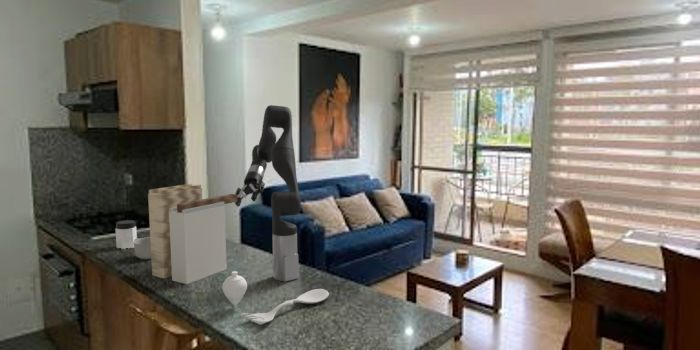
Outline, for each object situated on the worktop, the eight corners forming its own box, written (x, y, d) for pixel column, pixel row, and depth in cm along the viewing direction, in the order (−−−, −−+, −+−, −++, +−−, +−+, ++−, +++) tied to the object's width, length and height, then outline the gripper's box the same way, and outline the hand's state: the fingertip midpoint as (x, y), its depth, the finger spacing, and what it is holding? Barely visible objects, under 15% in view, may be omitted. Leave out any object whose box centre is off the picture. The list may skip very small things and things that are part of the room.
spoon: (239, 324, 137) (239, 312, 137) (315, 293, 162) (314, 283, 161) (259, 332, 131) (259, 321, 131) (334, 299, 156) (334, 289, 156)
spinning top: (221, 305, 150) (220, 269, 149) (245, 302, 153) (244, 266, 152) (224, 314, 143) (223, 277, 142) (249, 310, 146) (248, 273, 145)
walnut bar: (232, 200, 195) (231, 193, 194) (237, 201, 193) (237, 194, 193) (177, 212, 171) (176, 204, 170) (182, 213, 169) (182, 204, 169)
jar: (117, 250, 214) (116, 224, 213) (115, 246, 221) (114, 221, 219) (138, 247, 219) (137, 222, 218) (135, 243, 226) (134, 219, 224)
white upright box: (212, 266, 191) (210, 200, 188) (226, 269, 187) (224, 202, 184) (172, 280, 174) (168, 208, 170) (186, 284, 170) (183, 210, 166)
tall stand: (193, 261, 196) (190, 183, 193) (204, 264, 193) (201, 184, 189) (152, 275, 179) (147, 189, 175) (164, 278, 176) (160, 191, 172)
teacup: (165, 257, 203) (164, 239, 202) (140, 263, 195) (139, 244, 194) (151, 251, 212) (150, 234, 211) (127, 256, 204) (126, 238, 203)
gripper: (237, 175, 210) (226, 201, 198) (262, 166, 205) (253, 192, 193) (247, 186, 214) (237, 212, 203) (272, 178, 209) (263, 203, 197)
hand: (245, 202), depth 198 cm, fingers open, 8 cm apart
